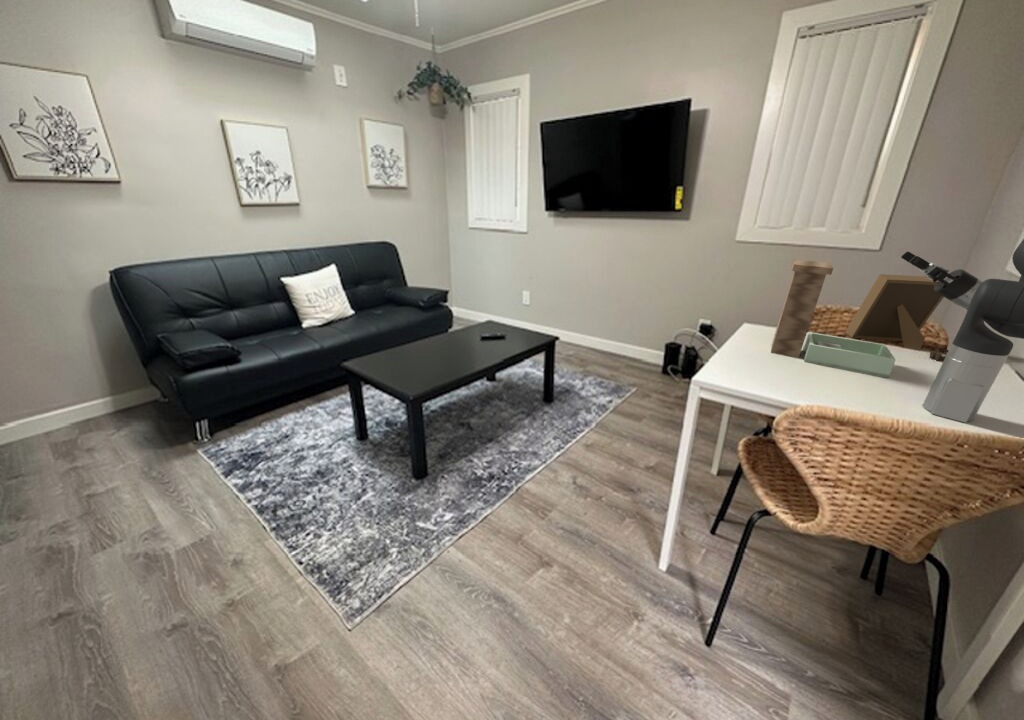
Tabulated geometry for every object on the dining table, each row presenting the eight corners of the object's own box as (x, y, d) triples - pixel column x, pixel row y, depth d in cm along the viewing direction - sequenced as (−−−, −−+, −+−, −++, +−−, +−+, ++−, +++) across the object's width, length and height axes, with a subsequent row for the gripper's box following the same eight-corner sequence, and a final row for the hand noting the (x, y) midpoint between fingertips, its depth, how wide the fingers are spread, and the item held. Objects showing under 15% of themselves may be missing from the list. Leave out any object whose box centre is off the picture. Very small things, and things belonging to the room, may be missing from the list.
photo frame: (844, 334, 160) (868, 271, 150) (902, 337, 158) (931, 274, 148) (871, 347, 147) (899, 279, 137) (935, 352, 145) (968, 283, 135)
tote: (878, 361, 133) (885, 344, 131) (887, 378, 121) (895, 359, 118) (802, 347, 143) (808, 331, 141) (804, 361, 131) (810, 344, 129)
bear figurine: (912, 343, 144) (956, 341, 143) (908, 354, 146) (952, 352, 145) (961, 362, 128) (1011, 360, 126) (956, 374, 129) (1005, 373, 128)
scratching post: (801, 348, 143) (829, 262, 131) (802, 360, 132) (833, 268, 120) (768, 342, 148) (793, 259, 136) (767, 353, 137) (793, 264, 125)
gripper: (958, 306, 109) (902, 271, 112) (940, 294, 120) (889, 263, 123) (989, 283, 104) (929, 248, 107) (967, 273, 116) (913, 241, 119)
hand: (908, 256), depth 115 cm, fingers open, 8 cm apart
